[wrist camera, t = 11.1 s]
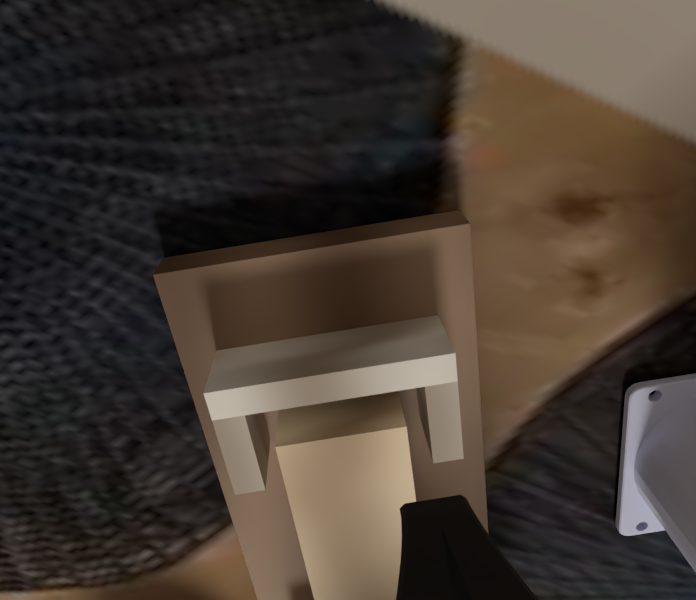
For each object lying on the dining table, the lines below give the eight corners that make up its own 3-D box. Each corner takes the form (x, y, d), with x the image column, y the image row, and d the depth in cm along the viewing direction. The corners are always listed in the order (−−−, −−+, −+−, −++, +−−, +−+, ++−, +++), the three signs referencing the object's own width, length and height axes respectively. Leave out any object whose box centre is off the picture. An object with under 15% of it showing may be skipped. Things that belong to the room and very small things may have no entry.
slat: (393, 372, 20) (406, 426, 17) (427, 631, 26) (441, 702, 23) (280, 390, 20) (275, 447, 17) (340, 645, 26) (344, 716, 23)
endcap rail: (458, 209, 19) (493, 251, 15) (488, 657, 29) (514, 746, 26) (164, 258, 19) (129, 309, 15) (297, 687, 29) (295, 779, 26)
